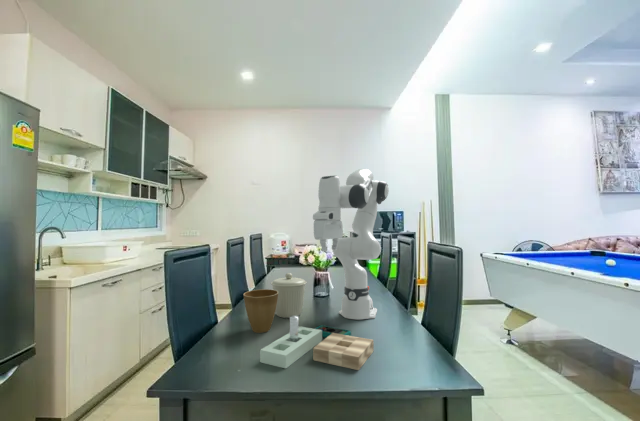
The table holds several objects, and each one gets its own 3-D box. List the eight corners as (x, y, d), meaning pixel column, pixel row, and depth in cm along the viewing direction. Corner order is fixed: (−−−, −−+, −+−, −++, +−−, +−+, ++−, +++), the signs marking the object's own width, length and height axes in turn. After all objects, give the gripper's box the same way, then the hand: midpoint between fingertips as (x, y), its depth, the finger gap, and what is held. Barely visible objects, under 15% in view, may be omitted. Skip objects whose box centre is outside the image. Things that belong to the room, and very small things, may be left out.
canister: (313, 313, 155) (313, 272, 156) (292, 323, 140) (292, 277, 141) (286, 308, 165) (286, 269, 166) (263, 316, 149) (263, 273, 151)
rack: (300, 336, 123) (300, 326, 123) (322, 340, 118) (322, 330, 118) (260, 362, 99) (260, 349, 100) (285, 368, 95) (285, 355, 95)
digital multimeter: (320, 330, 131) (320, 323, 131) (351, 337, 123) (351, 329, 123) (311, 336, 125) (311, 328, 125) (343, 343, 117) (343, 335, 117)
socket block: (332, 343, 115) (332, 332, 115) (373, 351, 108) (373, 339, 108) (313, 360, 101) (313, 348, 101) (358, 370, 94) (358, 357, 94)
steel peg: (292, 348, 111) (292, 314, 112) (300, 349, 110) (300, 316, 110) (287, 351, 108) (287, 317, 109) (295, 352, 107) (295, 318, 107)
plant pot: (259, 322, 140) (259, 287, 141) (285, 328, 133) (285, 291, 134) (235, 332, 128) (235, 294, 128) (262, 338, 120) (262, 298, 121)
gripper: (332, 216, 131) (333, 248, 130) (310, 214, 113) (310, 252, 112) (346, 216, 128) (346, 248, 128) (325, 214, 110) (325, 252, 109)
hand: (329, 250), depth 120 cm, fingers open, 8 cm apart
